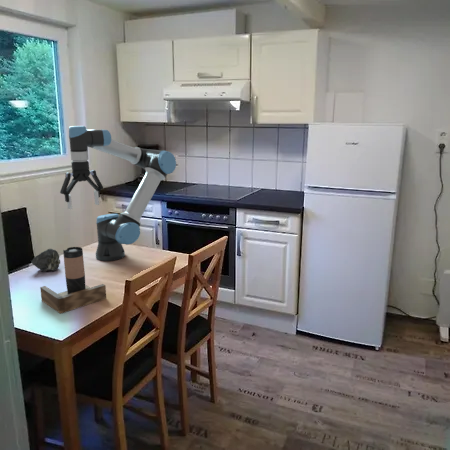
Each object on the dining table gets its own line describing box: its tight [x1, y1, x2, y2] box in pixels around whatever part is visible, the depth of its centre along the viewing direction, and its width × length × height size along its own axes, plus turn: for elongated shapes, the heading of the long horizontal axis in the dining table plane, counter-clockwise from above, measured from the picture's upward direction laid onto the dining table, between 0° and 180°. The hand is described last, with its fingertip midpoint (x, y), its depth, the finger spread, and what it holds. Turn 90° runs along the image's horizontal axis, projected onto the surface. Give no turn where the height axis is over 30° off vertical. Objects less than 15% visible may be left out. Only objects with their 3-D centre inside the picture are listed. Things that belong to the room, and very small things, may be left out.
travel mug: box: [62, 246, 86, 294], centre depth 181 cm, size 8×8×20 cm
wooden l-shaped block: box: [39, 283, 107, 314], centre depth 181 cm, size 20×17×6 cm
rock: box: [31, 248, 61, 272], centre depth 214 cm, size 12×10×10 cm
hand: (83, 206), depth 204 cm, fingers open, 13 cm apart
